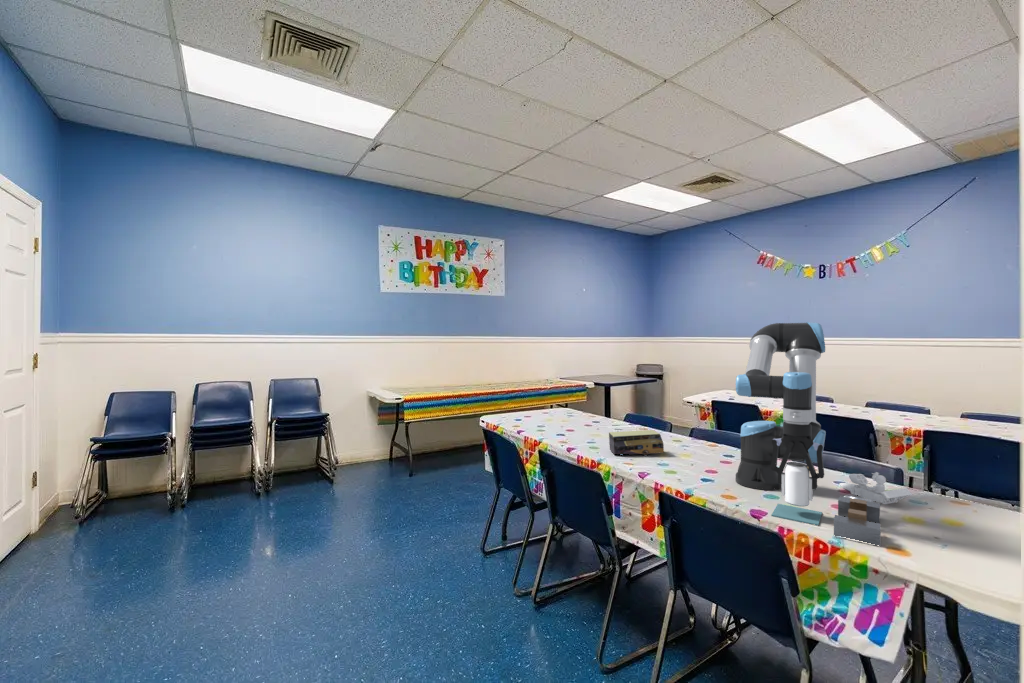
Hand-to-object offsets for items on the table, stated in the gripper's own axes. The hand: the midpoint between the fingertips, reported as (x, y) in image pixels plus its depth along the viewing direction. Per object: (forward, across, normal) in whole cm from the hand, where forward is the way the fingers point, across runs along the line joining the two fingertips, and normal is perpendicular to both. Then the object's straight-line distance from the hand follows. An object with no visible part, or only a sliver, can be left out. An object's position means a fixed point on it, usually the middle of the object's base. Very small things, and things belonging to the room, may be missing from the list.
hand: (796, 496), depth 141 cm
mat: (+6, 0, 0) cm, 6 cm away
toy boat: (+6, +17, +34) cm, 39 cm away
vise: (+6, +15, +4) cm, 17 cm away
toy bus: (+6, -70, +41) cm, 81 cm away
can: (+2, 0, 0) cm, 2 cm away
